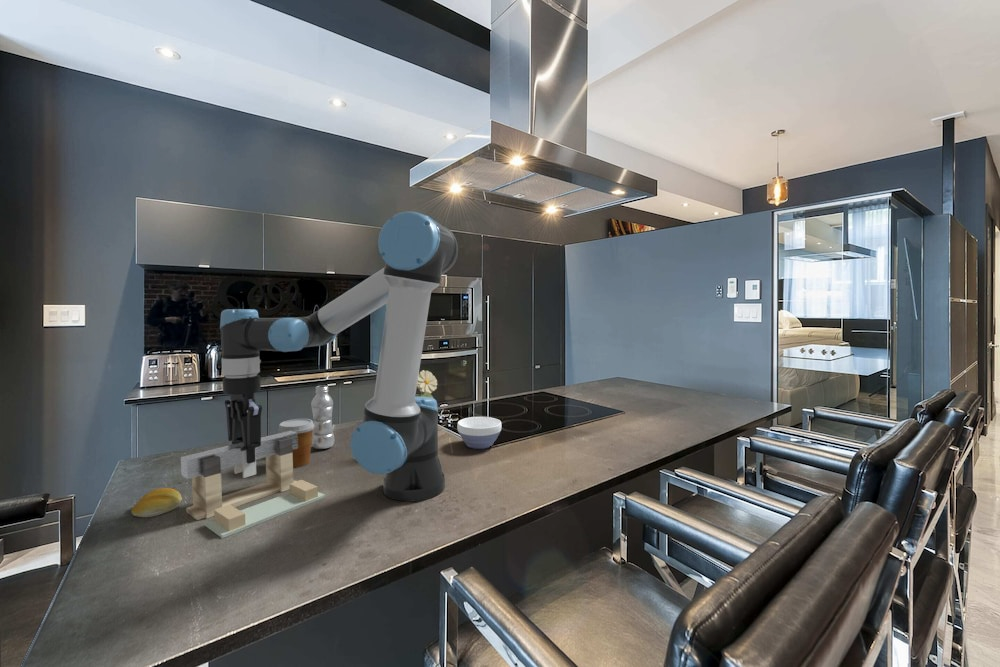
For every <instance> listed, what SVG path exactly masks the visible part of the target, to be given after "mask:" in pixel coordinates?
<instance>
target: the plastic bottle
mask: <svg viewBox="0 0 1000 667" xmlns="http://www.w3.org/2000/svg"><path fill="white" fill-rule="evenodd" d="M314 392H315V396H314V397H313V399H312V400H311V403H310V406H311V412H312V417H313V418H312V419H313V420H312V421H313V424H314V428H313V432H312V441H311V444H312V446H313V448H314V449H315V450H324V449H325V450H326V449H330V448H331V447H333V446H334V444H335V435H334V430H333V420H332V419H333V408H334V400H333V398H332V397H331V395H329V385H326V384H323V385H317V386H315V391H314Z"/></svg>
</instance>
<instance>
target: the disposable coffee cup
mask: <svg viewBox="0 0 1000 667" xmlns="http://www.w3.org/2000/svg"><path fill="white" fill-rule="evenodd" d="M277 431H278V433H283V432H287V431H293V432H296V433H298V448H297V449H294V450H292V452H293V468H298V467H303V466H305V465H308V464H309V463H310V459H311V458H310V457H311V450H312V438H313V431H314V420H312V419H310V418H295V419H289V420H285V421H282V422H280V423H279V426H278V428H277Z"/></svg>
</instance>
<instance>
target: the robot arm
mask: <svg viewBox="0 0 1000 667" xmlns="http://www.w3.org/2000/svg"><path fill="white" fill-rule="evenodd" d="M377 244H378V250H379V254H380V255H381V257H382V259H383V261H384V262H385V263H384V267H383V268H382V269H380V270H378V271H376V272H375V273H373V274H371V275H370V276H369V277H368V278H365V279H364V280H362V281H361V282H359V283H358V284H356V285H355V286H354V287H352V288H350V289H348V290H347V291H345V292H344V293H342V294H341V295H339V296H337V297H336V298H335V299H333V300H332V301H330V302H328V303H327V304H326V305H324V306H322V307H321V308H319V309H317V311H314V312H313V313H311V314H310V315H308V316H298V317H293V316H292V317H260V316H259V312H258V310H257V309H254V308H253V309H250V308H249V309H244V308H238V309H237V308H235V309H233V308H232V309H230V308H228V309H224V310H222V311H221V313H220V321H219V322H220V324H219V331H220V343H221V344H220V346H221V375H222V376H224V377H223V378H222V392H223V394H225V395H230V399H225V400H224V406H225V410H226V426H227V427H226V428H227V439H228V442H231V445H233V444H237V443H241V442H243V446H244V448H240V450H241V451H242V464H240V465H236V466H233V469H234V470H233V471H234V472H233V473H234V474H239V473H242V478H243V479H246V478H248V477H253V476H255V475H257V460H256V447H259V446H261V438H262V433H261V432H262V429H261V428H262V420H261V419H262V417H261V416H262V412H263V411H262V410H263V406H262V405H261V404H258V405H257V404H256V398H255V393H257V392H260V390H261V384H262V383H261V376H260V375H259V373H261V368H260V367H261V366H260V364H261V362H262V360H261V359H260V355H261V354H260V351H268V352H269V351H272V352H282V353H288V352H298V351H302V349H304V348H310V347H320V346H325V345H327V344H330V343H332V342H333V341H335V340H336V337H337V335H338V334H340V333H341V332H342V331H344V330H346V329H347V328H349V327H351V326H352V325H354V324H355V323H357V322H359V321H360V320H362V319H364V318H366V317H367V316H369V315H370V314H372V313H373V312H375V311H376V310H378V309H380V308H382V307H383V306H385V305H386V310H385V315H384V316H385V318H384V323H383V331H382V337H381V345H380V351H379V352H380V353H379V358H378V359H379V360H378V364H377V366H378V367H377V372H376V377H375V378H376V380H375V386H374V392H373V397H372V398H370V399H369V400H367V402H365V405H364V411H363V418H362V422H361V423H360V424H358V426H357V427H355V429H354V430H353V432H352V434H351V436H350V439H349V440H350V443H349V445H350V452H351V455H352V457H353V459H354V461H356V462H357V463H358V465H359V466H360V467H361V468H362V469H364V470H365V471H366V472H369V473H371V474H375V475H385V477H384V479H383V482H382V483H383V484H382V485H383V487H382V488H383V489H382V490H383V491H382V492H383V493H384V495H385V496H386V497H387V498H390V499H392V500H394V501H395V500H396V501H399V502H400V501H402V502H416V501H423V500H427V499H431V498H433V497H435V496H438V495H439V494H441V493H442V492H443V491H444V490H445V488H446V476H445V474H444V472H443V468H442V464H441V462H440V460H439V459H440V458H439V448H438V445H439V443H438V442H439V441H438V440H439V437H438V436H439V434H438V432H439V427H438V426H439V424H438V423H439V419H438V418H439V410H438V401H437V400H436V399H435V398H434V397H433V398H431V397H422V395H421V396H420V395H419V396H418V395H416V393H417V389H418V386H417V382H418V375H419V374H420V367H421V362H422V354H423V348H424V343H425V342H424V341H425V336H426V328H427V322H428V314H429V308H430V302H431V296H432V295H431V294H432V292H433V290H435V289H437V288H438V287H440V285H441V279H442V276H443V275H444V274H445V273H447V272H448V271H449V270H450V269H452V267H453V266H454V264H455V263H456V261H457V259H458V253H459V245H458V242H457V239H456V236H455V235H454V233H453V231H451V230H450V229H449V228H448V227H446V226H445V225H443V224H441V223H439V222H437V221H435V220H434V219H433V218H432V217H430V216H429V215H427V214H423V213H420V212H417V211H402V212H398V213H396V214H394V215H393V216H391V217H390V218H389V219H387V220H386V221H385V223H384V224H383V226H382V227H381V229H380V231H379V235H378V240H377Z"/></svg>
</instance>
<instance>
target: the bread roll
mask: <svg viewBox="0 0 1000 667" xmlns="http://www.w3.org/2000/svg"><path fill="white" fill-rule="evenodd" d="M182 501H183V498H182V494H181V493H180V492H179V490H176V489H174V488H170V487H162V488H156V489H153V490H151V491H148V492H147V493H146V494H144V495H143V496H142V497H141V498H140V499H139V501H137V502H136V503H135V504H134V505H133V506H132V508H131V514H132V516H134V517H138V518H152V517H156V516H160V515H163V514H167V513H169V512H171V511H173V510H175V509H177V507H179V506H180V504H181V502H182Z"/></svg>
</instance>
